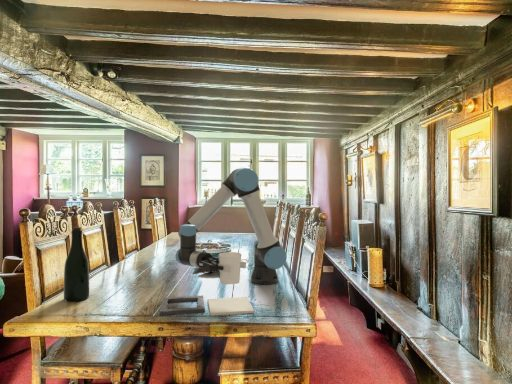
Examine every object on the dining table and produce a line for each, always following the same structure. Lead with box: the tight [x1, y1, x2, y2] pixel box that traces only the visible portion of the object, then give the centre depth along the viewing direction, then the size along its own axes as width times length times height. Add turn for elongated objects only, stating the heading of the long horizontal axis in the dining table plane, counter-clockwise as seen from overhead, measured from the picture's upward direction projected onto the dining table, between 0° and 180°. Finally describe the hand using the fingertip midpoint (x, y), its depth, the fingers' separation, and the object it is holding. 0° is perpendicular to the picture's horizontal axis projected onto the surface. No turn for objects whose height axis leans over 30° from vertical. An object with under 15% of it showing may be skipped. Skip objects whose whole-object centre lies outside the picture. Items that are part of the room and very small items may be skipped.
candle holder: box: [218, 251, 242, 285], centre depth 149 cm, size 10×10×12 cm
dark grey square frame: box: [159, 295, 206, 316], centre depth 149 cm, size 18×18×2 cm
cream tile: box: [207, 296, 255, 316], centre depth 149 cm, size 18×18×1 cm
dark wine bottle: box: [63, 226, 90, 303], centre depth 158 cm, size 10×10×33 cm
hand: (237, 267), depth 146 cm, fingers closed on candle holder, 9 cm apart
